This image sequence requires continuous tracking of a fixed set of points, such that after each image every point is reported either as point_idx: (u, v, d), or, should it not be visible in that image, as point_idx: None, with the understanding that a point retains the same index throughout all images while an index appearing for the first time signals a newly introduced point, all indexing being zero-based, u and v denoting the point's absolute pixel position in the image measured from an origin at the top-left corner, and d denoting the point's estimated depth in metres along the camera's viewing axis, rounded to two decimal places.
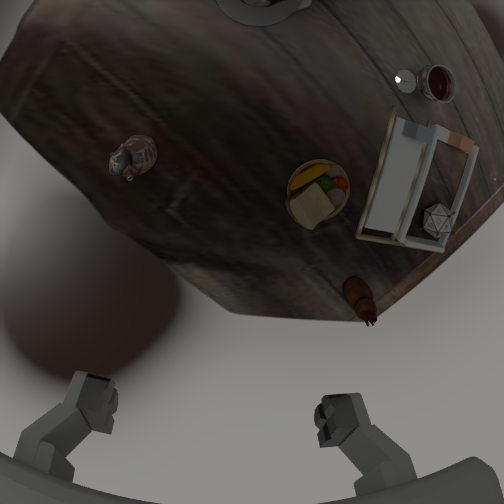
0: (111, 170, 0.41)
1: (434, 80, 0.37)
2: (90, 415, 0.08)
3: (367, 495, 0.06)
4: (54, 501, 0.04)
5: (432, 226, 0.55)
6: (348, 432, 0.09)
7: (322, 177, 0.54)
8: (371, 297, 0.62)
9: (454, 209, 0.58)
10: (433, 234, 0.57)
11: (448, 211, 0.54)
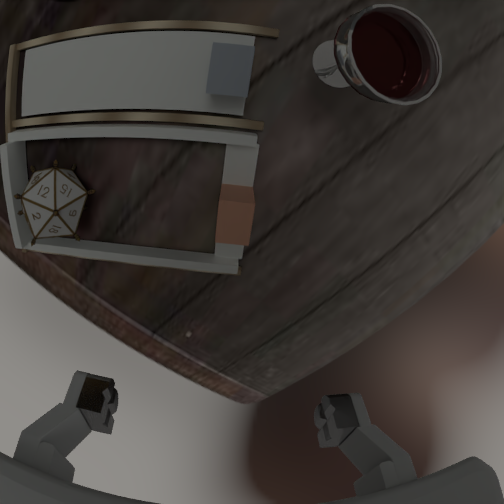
0: None
1: (388, 58, 0.15)
2: (90, 415, 0.08)
3: (367, 495, 0.06)
4: (54, 501, 0.04)
5: (33, 182, 0.22)
6: (348, 432, 0.09)
7: None
8: None
9: (93, 247, 0.30)
10: None
11: (72, 217, 0.25)
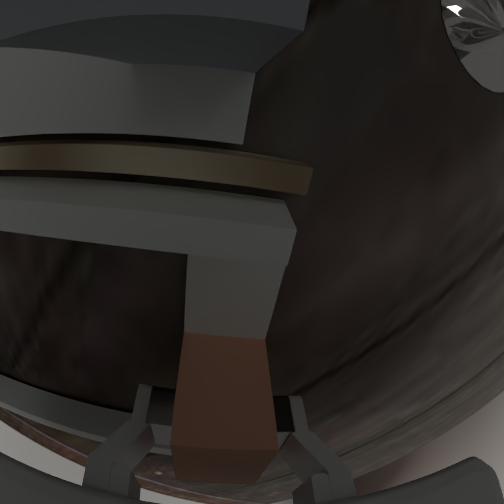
0: None
1: None
2: (160, 429, 0.08)
3: (367, 495, 0.06)
4: (54, 501, 0.04)
5: None
6: (284, 437, 0.09)
7: None
8: None
9: None
10: None
11: None
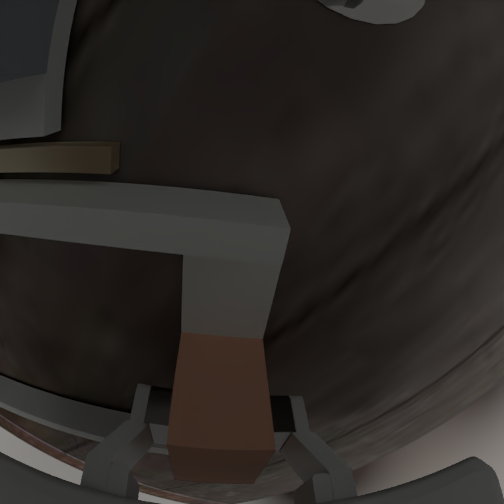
0: None
1: None
2: (159, 429, 0.08)
3: (367, 495, 0.06)
4: (54, 501, 0.04)
5: None
6: (285, 437, 0.09)
7: None
8: None
9: None
10: None
11: None
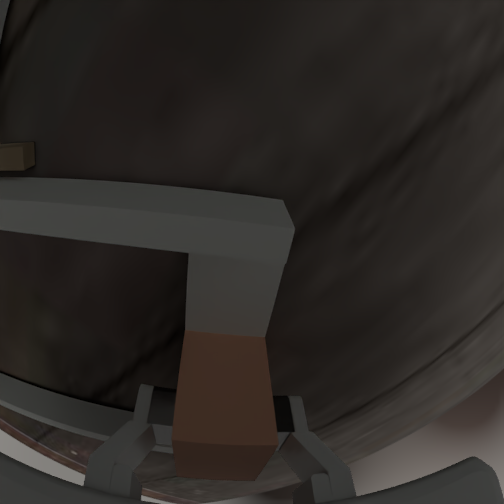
0: None
1: None
2: (162, 429, 0.08)
3: (367, 495, 0.06)
4: (54, 501, 0.04)
5: None
6: (284, 437, 0.09)
7: None
8: None
9: None
10: None
11: None
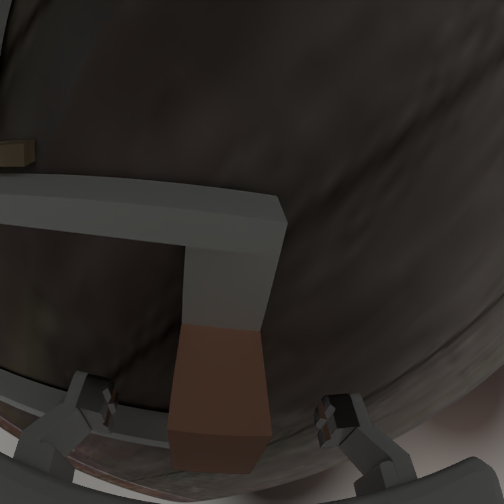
0: None
1: None
2: (90, 415, 0.08)
3: (367, 495, 0.06)
4: (54, 501, 0.04)
5: None
6: (348, 432, 0.09)
7: None
8: None
9: None
10: None
11: None
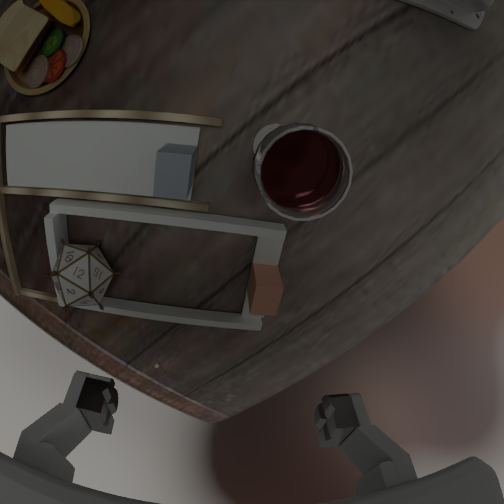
0: None
1: (304, 168, 0.22)
2: (90, 415, 0.08)
3: (367, 495, 0.06)
4: (54, 501, 0.04)
5: (68, 261, 0.28)
6: (348, 432, 0.09)
7: (60, 33, 0.19)
8: None
9: (136, 308, 0.36)
10: (55, 267, 0.29)
11: (100, 293, 0.31)
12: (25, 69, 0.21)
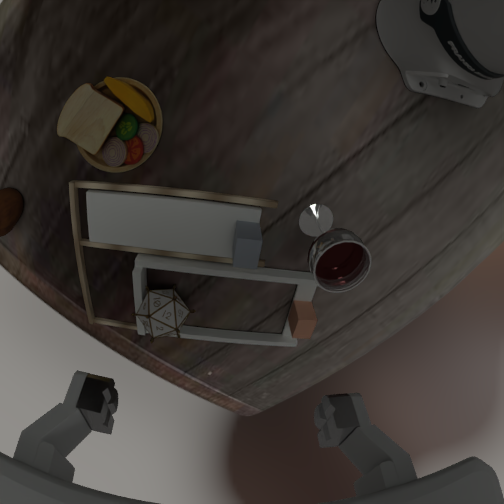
0: None
1: (340, 256, 0.33)
2: (90, 415, 0.08)
3: (367, 495, 0.06)
4: (54, 501, 0.04)
5: (156, 305, 0.40)
6: (348, 432, 0.09)
7: (134, 120, 0.32)
8: None
9: (202, 333, 0.49)
10: (142, 309, 0.41)
11: (180, 327, 0.43)
12: None
